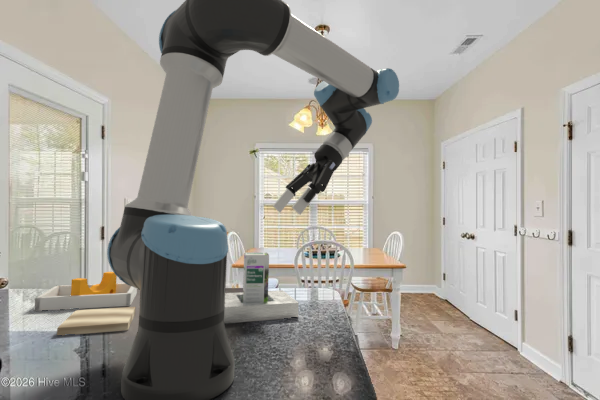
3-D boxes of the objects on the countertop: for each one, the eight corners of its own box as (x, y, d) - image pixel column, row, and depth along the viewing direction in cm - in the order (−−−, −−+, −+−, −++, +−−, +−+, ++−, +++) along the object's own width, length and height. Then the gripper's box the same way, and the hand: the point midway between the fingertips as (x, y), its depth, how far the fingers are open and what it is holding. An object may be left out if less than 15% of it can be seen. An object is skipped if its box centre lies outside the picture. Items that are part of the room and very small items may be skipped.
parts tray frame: (130, 305, 85) (130, 293, 85) (34, 311, 78) (35, 298, 78) (136, 293, 98) (137, 282, 98) (55, 296, 91) (56, 285, 91)
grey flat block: (298, 317, 79) (298, 302, 79) (219, 323, 73) (220, 307, 73) (282, 303, 91) (282, 290, 91) (214, 307, 85) (214, 293, 85)
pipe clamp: (102, 294, 94) (103, 271, 95) (115, 295, 93) (116, 272, 94) (64, 305, 83) (65, 279, 83) (79, 307, 82) (80, 280, 82)
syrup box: (243, 316, 79) (245, 254, 79) (242, 309, 84) (244, 251, 85) (267, 315, 80) (269, 254, 80) (264, 308, 86) (266, 251, 86)
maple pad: (127, 330, 68) (128, 322, 68) (56, 335, 64) (57, 327, 64) (135, 313, 79) (135, 306, 79) (75, 317, 75) (76, 310, 75)
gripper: (367, 157, 84) (316, 222, 78) (320, 165, 107) (278, 216, 101) (348, 135, 82) (294, 200, 76) (304, 149, 104) (260, 200, 99)
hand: (285, 210), depth 89 cm, fingers open, 13 cm apart
